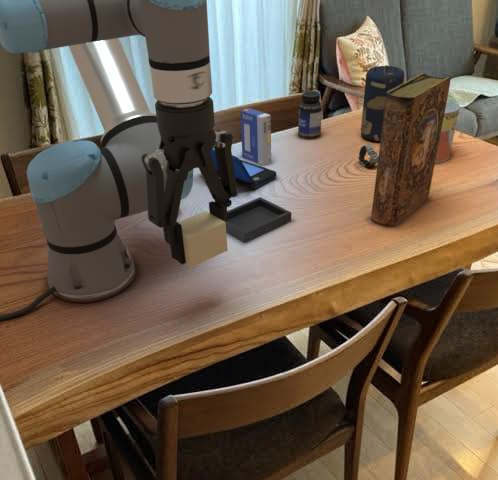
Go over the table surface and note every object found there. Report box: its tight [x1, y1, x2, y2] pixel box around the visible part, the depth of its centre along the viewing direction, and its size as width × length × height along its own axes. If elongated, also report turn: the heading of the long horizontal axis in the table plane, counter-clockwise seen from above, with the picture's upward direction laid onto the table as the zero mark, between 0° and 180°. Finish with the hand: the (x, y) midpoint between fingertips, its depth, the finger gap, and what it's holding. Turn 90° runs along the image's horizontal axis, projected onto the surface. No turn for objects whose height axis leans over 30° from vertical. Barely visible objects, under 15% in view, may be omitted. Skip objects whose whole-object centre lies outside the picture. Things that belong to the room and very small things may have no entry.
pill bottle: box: [297, 90, 323, 140], centre depth 144 cm, size 6×6×11 cm
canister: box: [360, 64, 405, 142], centre depth 139 cm, size 10×10×18 cm
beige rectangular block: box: [177, 210, 228, 269], centre depth 82 cm, size 7×5×5 cm
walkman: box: [239, 107, 272, 166], centre depth 132 cm, size 8×3×12 cm, turn 43°
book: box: [370, 72, 452, 228], centre depth 105 cm, size 16×6×25 cm, turn 141°
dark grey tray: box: [226, 196, 292, 243], centre depth 110 cm, size 13×10×2 cm
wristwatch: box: [357, 143, 379, 168], centre depth 130 cm, size 3×5×5 cm
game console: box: [210, 148, 277, 190], centre depth 125 cm, size 16×13×9 cm
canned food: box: [435, 99, 461, 164], centre depth 131 cm, size 11×11×12 cm
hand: (199, 250), depth 84 cm, fingers closed on beige rectangular block, 7 cm apart
